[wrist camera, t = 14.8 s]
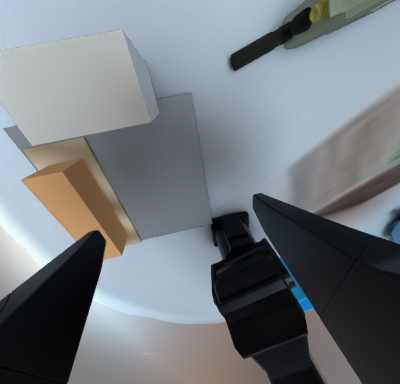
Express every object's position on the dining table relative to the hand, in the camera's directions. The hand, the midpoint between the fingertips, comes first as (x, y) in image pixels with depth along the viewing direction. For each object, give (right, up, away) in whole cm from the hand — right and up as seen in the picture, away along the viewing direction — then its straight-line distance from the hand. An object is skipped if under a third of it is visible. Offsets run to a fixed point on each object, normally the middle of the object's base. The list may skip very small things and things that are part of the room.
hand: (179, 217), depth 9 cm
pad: (-12, 0, +11) cm, 16 cm away
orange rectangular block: (-12, 0, +11) cm, 16 cm away
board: (-7, +2, +12) cm, 14 cm away
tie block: (-7, +10, +6) cm, 14 cm away
